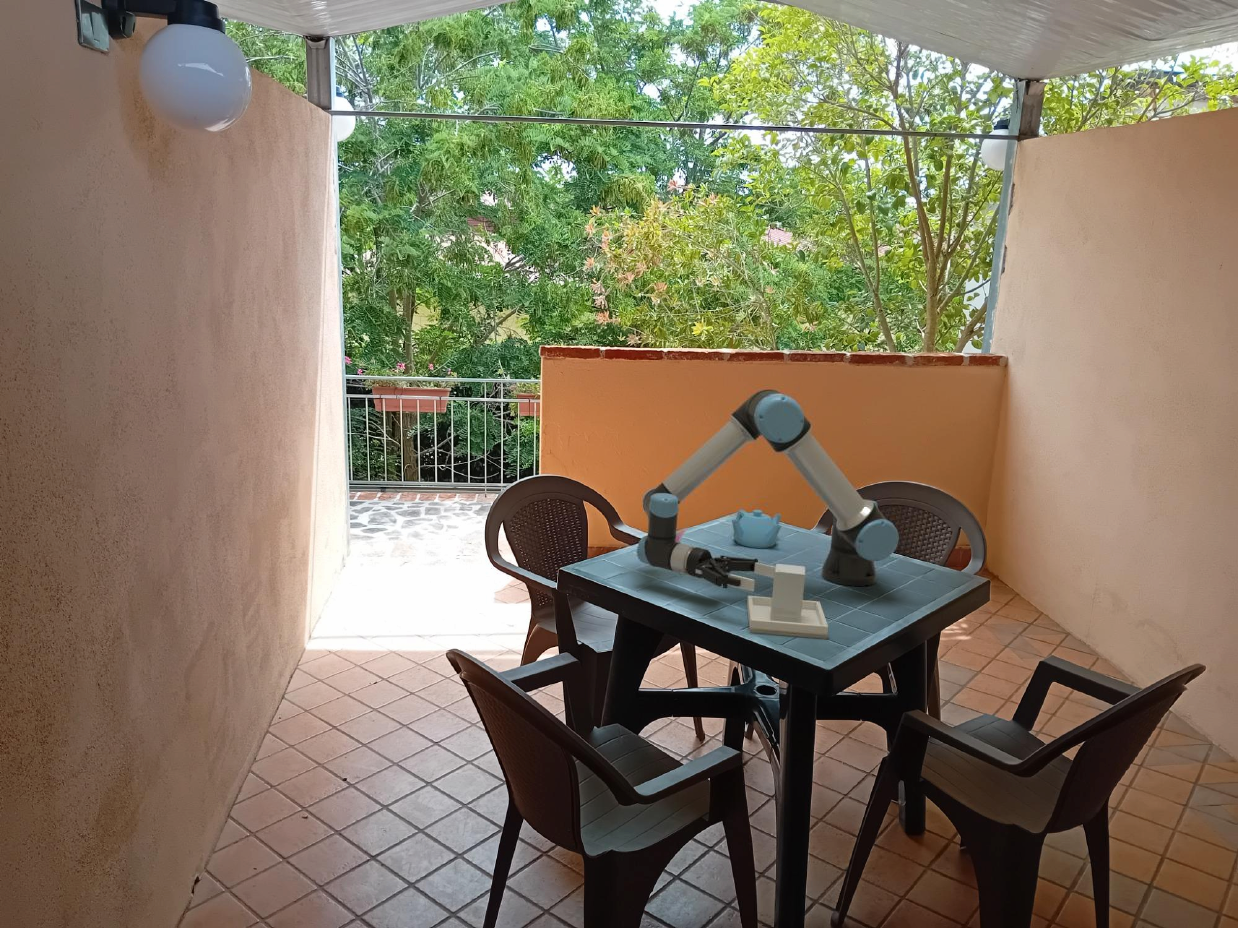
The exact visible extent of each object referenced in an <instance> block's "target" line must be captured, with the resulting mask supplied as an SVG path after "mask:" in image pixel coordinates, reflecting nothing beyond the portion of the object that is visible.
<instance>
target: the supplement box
mask: <svg viewBox="0 0 1238 928" xmlns="http://www.w3.org/2000/svg"><path fill="white" fill-rule="evenodd" d="M775 567H776V568H775V575H774V578H773V584H772V596H771V598H772V604H771V615H770V620H771V621H782V622H794V623H800V620H801V611H802V602H803V600H804V590H805V583H806V566H804V565H794V564H782V563H775Z"/></svg>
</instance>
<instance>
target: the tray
mask: <svg viewBox="0 0 1238 928" xmlns="http://www.w3.org/2000/svg"><path fill="white" fill-rule="evenodd" d="M746 603H747V604H746V610H747V611H746V612H747V620H748V629H749V633H753V634H755V633H756V634H763V635H764V634H765V635H777V636H787V637H788V636H789V637H800V638H810V639H811V638H812V639H813V638H814V639H823V640H824V639H825V640H827V639H828V632H829V626H828V622H827V620H826V616H825V614H824V611H823V607H822V605H821V602H820V601H816V600H804V599H803V602H802V611H801V620H800V623H794V622H782V621H771V620H770V615H771V604H772V596H771V597H769V596H758V595H757V596H756V595H747V601H746Z"/></svg>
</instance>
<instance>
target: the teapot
mask: <svg viewBox="0 0 1238 928" xmlns="http://www.w3.org/2000/svg"><path fill="white" fill-rule="evenodd" d="M752 511H753V512H747V511H745V510H744V509H739V510H738V511H737V514H736V518H735V519H732V520H731V523H732V524H731V525H732V529H733V538H734V540H735V542H736V543H737V544H738V543H739V544H738V545H741V546H743V547H746V546H747V547H746V548H752V549H768V548H771V547H773V546H775V544H777V542H778V540H779V539H778V537H779V536H778V534H779V533H780V531H781V528H782V525H780V520H781V517H782V515H781V514H779V513H777V514H774V516H773V517H771V516H770V515H768V514H765V513H763V511H762V510H761V509H754V510H752Z"/></svg>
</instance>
